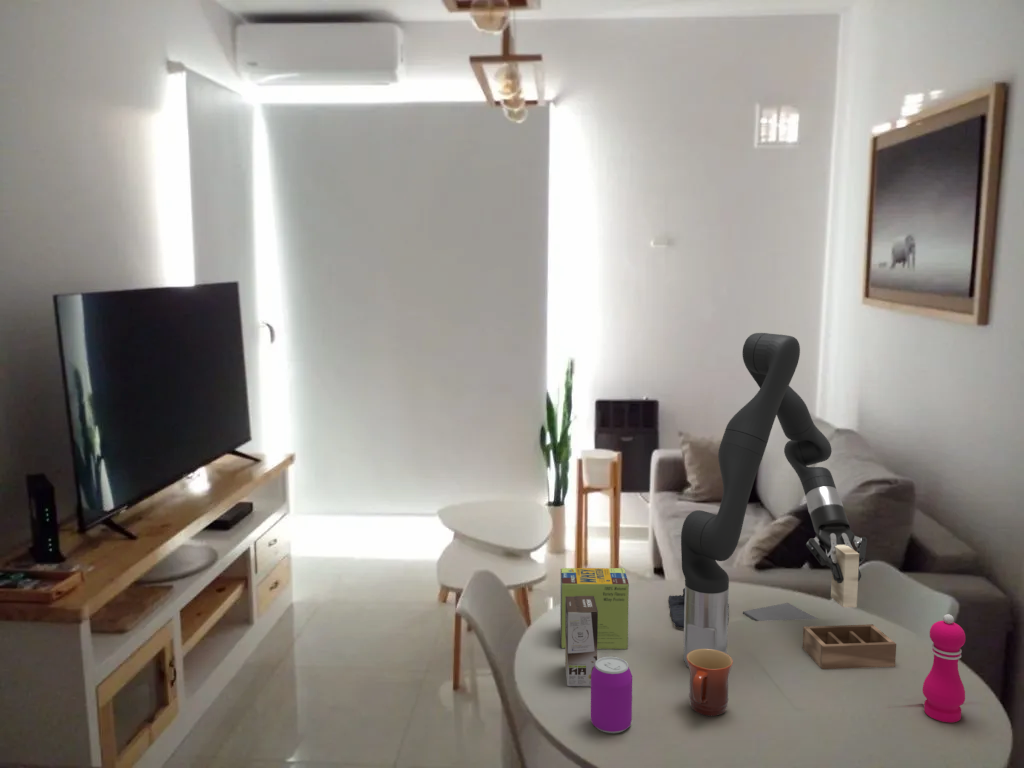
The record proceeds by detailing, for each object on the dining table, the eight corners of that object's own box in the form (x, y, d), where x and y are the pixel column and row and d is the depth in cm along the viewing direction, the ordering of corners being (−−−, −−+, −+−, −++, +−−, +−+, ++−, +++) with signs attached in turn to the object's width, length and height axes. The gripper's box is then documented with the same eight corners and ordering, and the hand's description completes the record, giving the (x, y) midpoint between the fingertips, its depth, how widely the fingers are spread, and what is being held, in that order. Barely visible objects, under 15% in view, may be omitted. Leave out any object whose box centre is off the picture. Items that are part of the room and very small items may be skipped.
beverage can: (582, 725, 152) (582, 664, 151) (606, 709, 158) (606, 650, 156) (616, 740, 147) (617, 678, 146) (639, 723, 153) (640, 663, 151)
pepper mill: (947, 728, 151) (954, 625, 148) (912, 710, 157) (918, 611, 154) (972, 718, 154) (979, 617, 151) (937, 701, 160) (943, 604, 158)
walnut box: (802, 651, 182) (803, 626, 181) (871, 648, 183) (872, 624, 182) (822, 672, 172) (823, 646, 171) (894, 669, 173) (896, 644, 172)
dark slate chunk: (663, 631, 194) (663, 612, 193) (669, 597, 215) (669, 579, 214) (729, 638, 190) (730, 619, 189) (729, 602, 211) (729, 584, 210)
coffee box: (598, 687, 167) (598, 612, 165) (566, 686, 167) (566, 612, 165) (594, 666, 176) (594, 594, 174) (564, 666, 176) (564, 594, 174)
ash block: (830, 596, 181) (833, 544, 179) (843, 596, 181) (846, 544, 179) (843, 607, 175) (845, 554, 173) (856, 607, 175) (859, 553, 174)
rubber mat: (840, 632, 191) (840, 630, 191) (792, 642, 186) (793, 640, 186) (787, 604, 208) (787, 602, 208) (742, 613, 203) (742, 611, 203)
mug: (694, 693, 164) (695, 644, 163) (737, 704, 159) (738, 655, 158) (672, 720, 154) (673, 669, 153) (717, 733, 149) (719, 680, 148)
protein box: (628, 649, 183) (629, 583, 181) (560, 649, 184) (560, 583, 182) (624, 629, 194) (624, 567, 192) (559, 629, 194) (559, 567, 192)
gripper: (801, 503, 182) (823, 575, 172) (862, 502, 183) (887, 573, 173) (791, 519, 188) (811, 589, 178) (850, 517, 189) (874, 587, 179)
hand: (848, 581), depth 175 cm, fingers closed on ash block, 3 cm apart
